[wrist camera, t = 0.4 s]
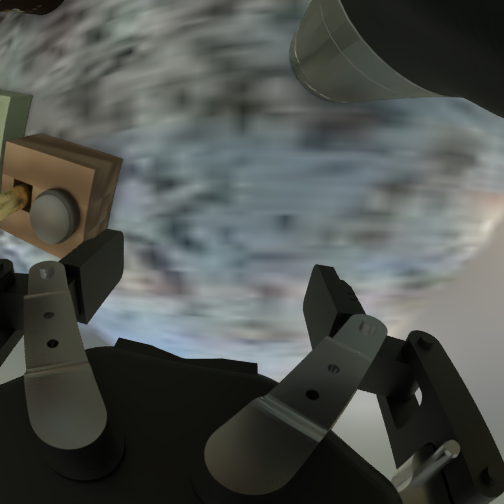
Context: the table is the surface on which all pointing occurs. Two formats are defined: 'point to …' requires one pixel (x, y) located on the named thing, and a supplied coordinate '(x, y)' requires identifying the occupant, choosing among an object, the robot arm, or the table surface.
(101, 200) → the block
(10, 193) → the pin
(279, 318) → the table surface
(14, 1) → the coffee mug
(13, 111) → the pin tray
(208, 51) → the table surface
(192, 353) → the table surface
